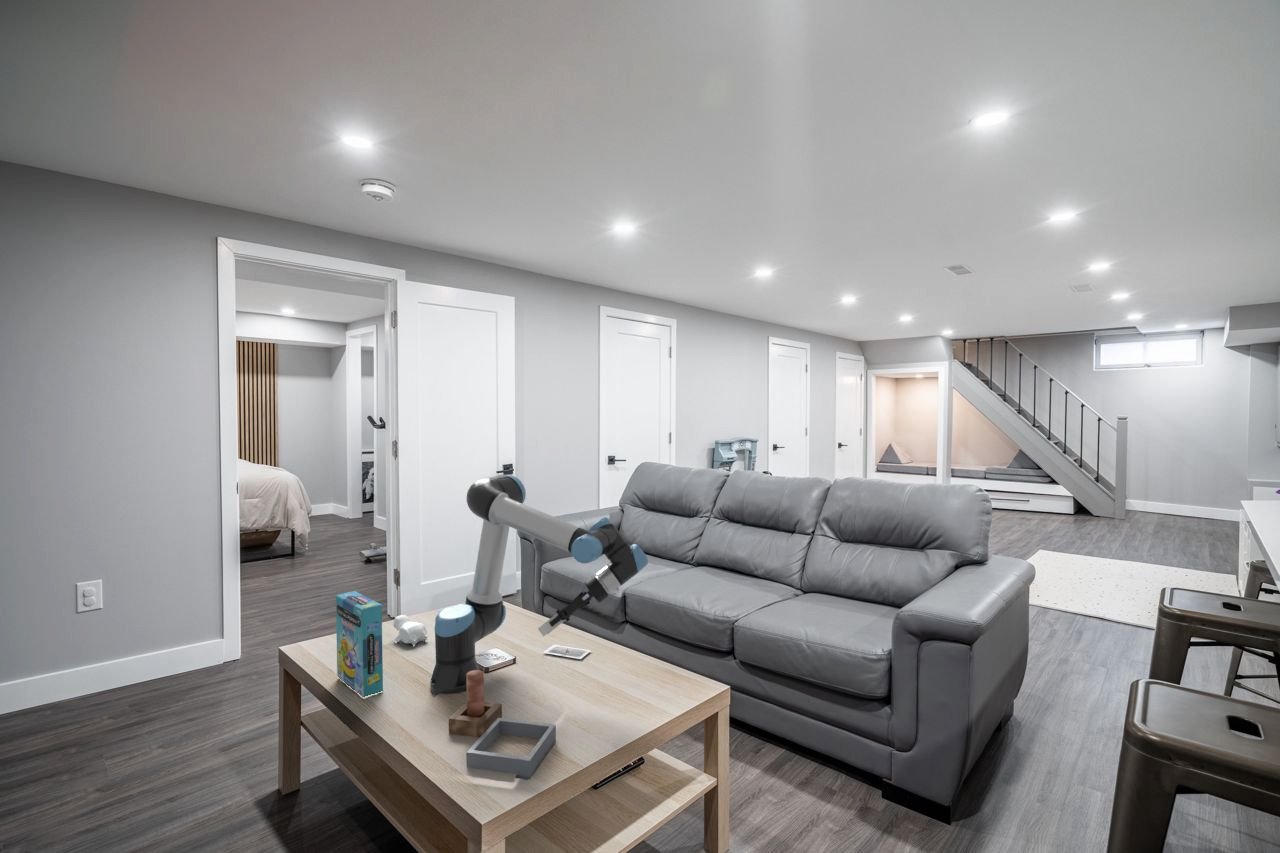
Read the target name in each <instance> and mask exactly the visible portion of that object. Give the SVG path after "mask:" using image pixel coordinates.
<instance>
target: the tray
mask: <svg viewBox="0 0 1280 853" xmlns="http://www.w3.org/2000/svg"><path fill="white" fill-rule="evenodd" d="M500 735H505V736H506V735H507V736H513V737H514V736H515V737H521V738H530V739H538V741H537V743H536V745H535V746H534V747H533V748H532V750H531V751H530V753H529V754H528V755H527V756H522V755H514V754H506V753H498V752H491V751H487V750H488V749H489V748H490V747H491V745H492V744H493V743H494V742H495V741H496V739H498V738H499V736H500ZM556 742H557V725H556V724H553V723H544V722H537V721H526V720H519V719H510V718H503V717H502V718H498V719H497V720H496V721H495V722H494V723H493V724H492V725H491V726H490V727H489V728H488V729H487V730H486V732H485V733H484V734H483V735H482V736H481V737H480V738H478V739H477V740H476V741H475V742H474V744H472V746H471V747H470V748H469V749H468V750H467V751H466V752H465V753H466V756H465V757H466V768H471V769H473V768H474V769H480V770H486V771H487V770H488V771H494V772H500V773H509V774H516V776H515V779H521V778H522V779H523V780H528V779H530V780H532V778H533V776H534V775H533V774H535V773H536V772H537V770H538V768H539V767H540V766H541V764H542V762H544V760H545V758H546V757H547V756H548V754H549V753H550V751H551V750H552V749H553V747H554V746H555V744H556ZM531 777H532V778H531Z"/></svg>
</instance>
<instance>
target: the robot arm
mask: <svg viewBox="0 0 1280 853" xmlns="http://www.w3.org/2000/svg"><path fill="white" fill-rule="evenodd" d="M526 495H527V494H526V488H525V485H524V484H523V482H522V481H521V480H520V478H518V477H517V476H515V475H512V474H498V475H496V476H495V475H494V476H492V477H491V476H490V477H484V478H480V479H477V480H476V481H474V482H473V483H472V484H471V485H470V486H469V488H468V490H467V493H466V503H467V507H468V508H469V510H470V511H471V512H472V513H473V515H475V516H476V517H478V518H480V519H482V520H483V523H482V528H481V534H480V540H479V546H478V551H477V559H476V565H475V569H474V575H473V583H472V588H471V589H470V590H469V591H468V592H467V593H466V596H465V602H464V603H460V604H454V605H453V606H452V605H451V606H447V607H445V608H443V609H442V610H440V611H439V612H438V613H437V615H436V616H435V620H434V621H435V622H434V627H433V628H434V629H433V630H434V637H435V638H434V644H435V645H434V646H435V647H434V648H435V665H434V669H433V672H432V675H431V678H430V683H429V689H430V692H431V693H432V694H433V695H436V696H438V695H439V694H440V695H441V694H442V695H445V694H446V695H453V694H460V693H463V692H467V680H466V674H467V673H468V672H470V671H473V670H480V667H479V664H478V662H477V659H476V643H477V642H479V641H480V640H482V639H484V638H486V637H487V636H489V635H491V634H493V633H494V632H495V631H497V630H498V628H500V627H501V626H502V625H503V623H504V621H505V619H506V615H507V614H506V613H507V608H506V606H505V604H504V601H503V595H502V594H501V592H500V585H501V580H502V574H503V569H504V562H505V557H506V551H507V543H508V539H509V538H508V537H509V533H510V528H512V529H514V530H516V531H519V532H521V533H524V534H526V535H529V536H531V537H533V538H536V539H538V540H540V541H542V542H545V543H547V544H550V545H552V546H554V547H556V548H559V549H561V550H564V551H566V552H568V553H570V554H571V555H572V557H573V558H574V559H575V561H576V562H579V563H581V564H589V563H592V562H595V561H596V560H598V559H599V558H600V557H602V556H605V557H606V558H607V559H608V561H609V562H608V563H607V564H606V565H604V566H603V567H602V568H601V569H599V570H598V571H596V572H595V575H592V576H591V577H589V578H588V579H587V580H585V582H584V585H585V587H586V588H587V589H588V590H587V591H584V592H582V591H581V592H580V593H579V594H577V596H576V597H574V598H573V599H572V602H570V603H569V604H568V605H567V606H565V607H564V608H562V609H561V610H560V609H559V608H558V609H557V610H556V611H555V614H554V615H553V616H552V617H551V618H549V619H548V620H547V621H546V622H544V623H543V624H541V625H540V626H539V627H538V628H537V630H538V631H539V632H540V634H541V635H542V636H543V637H545V636H547V635H549V634H550V633H552V632H553V631H554V630H555V629H557V628H558V627H559V626H561V625H562V624H563V623H564V622H569V621H570V618H571V616H573V614H575V613H576V612H577V611H581V610H582V609H583V608H584V607H587V606H588V605H589V604H591V602H590V601H591V600H592V598H594V599H595V600H596V602H597V603H602V602H603V601H605V599H607V598H608V597H609V594H612V593H615V591H616V592H619V591H620V587H621V586H623V585H624V584H625V583H627V582H629V580H631V579H632V578H633V577H635V576H636V575H637V574H639V572H640V571H642V570H643V569H644V568H645V567H647V565H648V564H649V559H648V557H647V555H646V554H645V552H644V551H643V550H642V548H641V547H640V546H639V545H638V544H637V543H633V544H629V543H628V542H627V541H626V539H625V538H624V537H623V536H622V534H621V533H620V530H618V529H617V527H616V525H615V524H614V523H613V522H612V521H611V519H609V518H608V517H606V516H604V517H601V518H600V519H598V520H597V521H596V522H594V523H593V524H592V525H591V526H590V527H589V528H588V530H586V529H584V528H581V527H579V526H577V525H575V524H573V523H569V522H567V521H565V520H563V519H560V518H558V517H555V516H553V515H550V514H548V513H546V512H543V511H541V510H539V509H536V508H534V507H531V506H529V505H527V504H525V500H526V497H527V496H526Z"/></svg>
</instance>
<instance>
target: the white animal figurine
mask: <svg viewBox="0 0 1280 853" xmlns="http://www.w3.org/2000/svg"><path fill="white" fill-rule="evenodd" d="M393 628H394V629H396V631H399V632H398V636H397V637H396V638H395V639H394V641H396V642H398V643H400V642H401V641H402V642H403V643H404V644H411V645H415V646H416V645H417V643H416V642H418V643H420V642H424V641H426V640H427V641H428V637H429V635H428V631H427V627H426V625H425V624H423V623H421V622H416V621H410V620H409V618H408V616H407V615H405V614H401V615H397V616H396V617H395V618H394V619H393ZM399 641H400V642H399ZM419 641H420V642H419Z"/></svg>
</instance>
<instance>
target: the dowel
mask: <svg viewBox="0 0 1280 853" xmlns="http://www.w3.org/2000/svg"><path fill="white" fill-rule="evenodd" d="M484 676H485V672H484V671H483V670H481V669H479V670H473V671H470V672H468V673H467V674H466V680H467V691H466V702H467V716H469V717H478V718H481V717H482V716H483V715H484V702H485V683H484V681H485V678H484Z"/></svg>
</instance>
